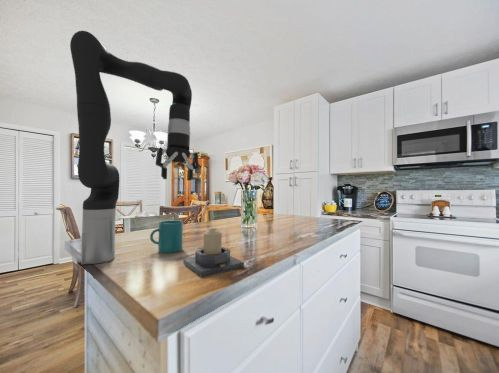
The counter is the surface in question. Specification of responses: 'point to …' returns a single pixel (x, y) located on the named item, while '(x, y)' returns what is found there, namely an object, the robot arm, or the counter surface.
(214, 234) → the candle
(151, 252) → the counter surface
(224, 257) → the mount
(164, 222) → the cup
